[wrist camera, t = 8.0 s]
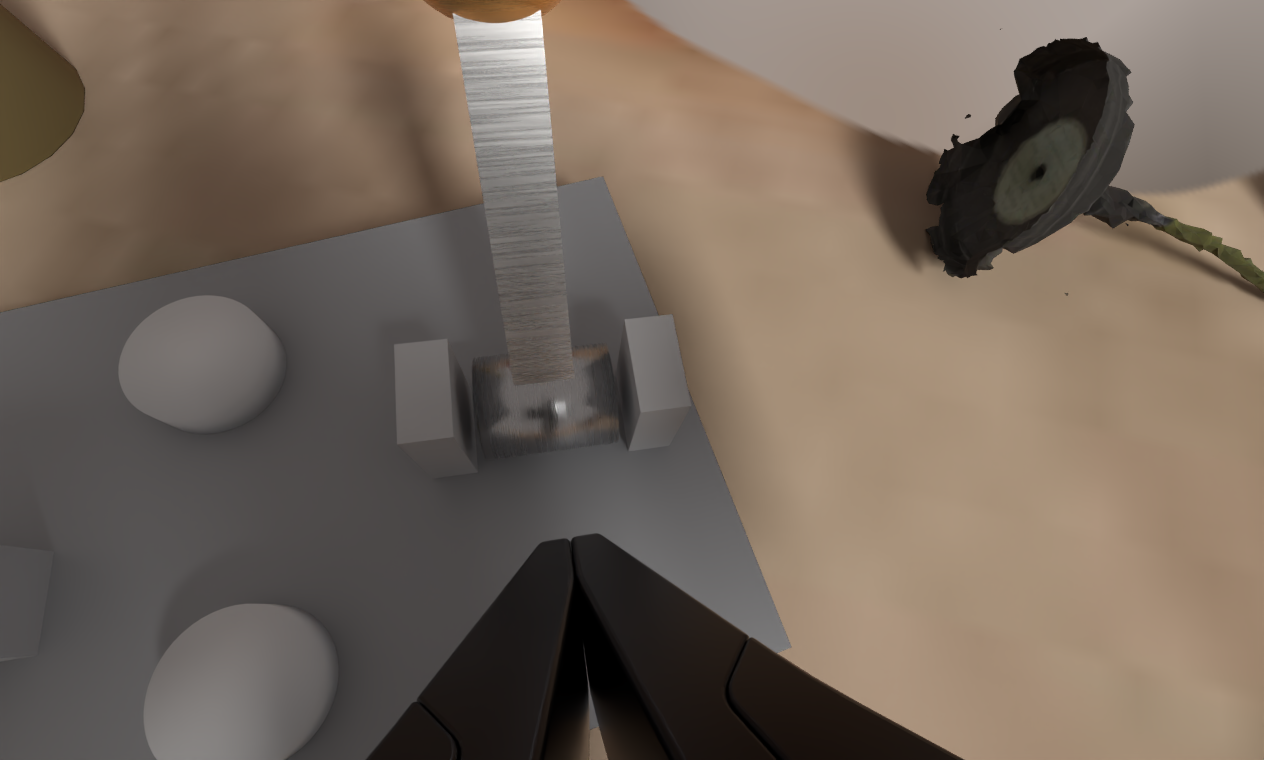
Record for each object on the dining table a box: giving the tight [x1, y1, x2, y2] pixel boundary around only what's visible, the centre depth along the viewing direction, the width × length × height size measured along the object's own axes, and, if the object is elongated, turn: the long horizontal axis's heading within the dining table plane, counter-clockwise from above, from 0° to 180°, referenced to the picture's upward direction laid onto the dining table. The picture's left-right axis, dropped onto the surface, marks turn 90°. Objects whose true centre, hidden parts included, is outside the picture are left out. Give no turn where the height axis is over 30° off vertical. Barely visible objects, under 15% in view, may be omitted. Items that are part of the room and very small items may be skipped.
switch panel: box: [0, 177, 791, 760], centre depth 13 cm, size 13×21×6 cm, turn 109°
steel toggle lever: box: [424, 0, 619, 460], centre depth 11 cm, size 3×3×11 cm
